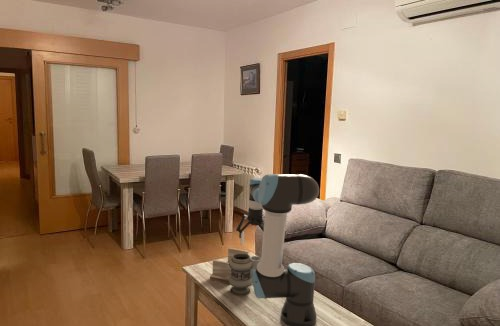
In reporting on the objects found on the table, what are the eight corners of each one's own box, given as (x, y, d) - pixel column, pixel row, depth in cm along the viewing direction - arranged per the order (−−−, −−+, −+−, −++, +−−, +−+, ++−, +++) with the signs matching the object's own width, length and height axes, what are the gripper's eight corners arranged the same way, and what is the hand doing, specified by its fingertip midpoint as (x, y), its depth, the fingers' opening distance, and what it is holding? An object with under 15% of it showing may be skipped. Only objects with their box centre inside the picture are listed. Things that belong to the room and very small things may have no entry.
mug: (264, 275, 193) (265, 254, 191) (251, 282, 184) (252, 260, 182) (253, 271, 197) (254, 250, 196) (240, 278, 188) (241, 256, 187)
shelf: (230, 284, 181) (231, 266, 180) (209, 279, 185) (210, 262, 184) (249, 265, 205) (250, 249, 204) (230, 261, 209) (231, 245, 208)
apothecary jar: (223, 289, 176) (224, 254, 173) (242, 282, 183) (243, 249, 181) (237, 299, 166) (239, 263, 164) (257, 292, 174) (259, 257, 172)
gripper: (280, 209, 184) (278, 248, 188) (236, 202, 193) (235, 240, 196) (276, 212, 178) (274, 253, 181) (231, 206, 186) (229, 244, 190)
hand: (253, 246), depth 189 cm, fingers open, 13 cm apart
